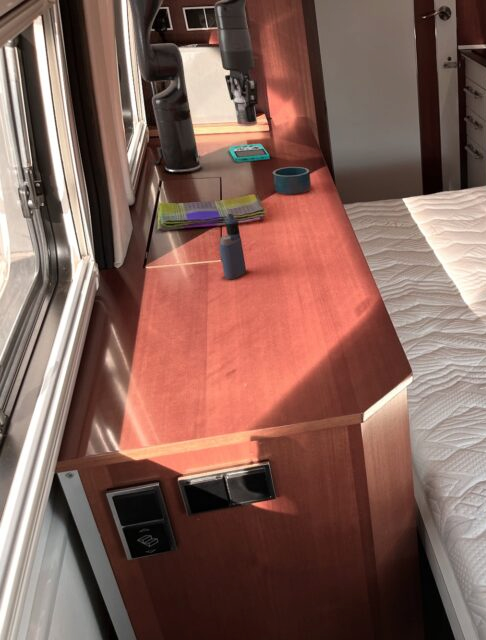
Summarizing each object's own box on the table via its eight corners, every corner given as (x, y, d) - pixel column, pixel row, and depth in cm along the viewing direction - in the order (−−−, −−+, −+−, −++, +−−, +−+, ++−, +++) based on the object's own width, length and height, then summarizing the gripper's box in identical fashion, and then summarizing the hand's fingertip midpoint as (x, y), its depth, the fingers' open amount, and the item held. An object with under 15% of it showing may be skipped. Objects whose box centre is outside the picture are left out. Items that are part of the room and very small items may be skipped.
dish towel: (158, 210, 198) (156, 199, 196) (261, 201, 205) (260, 190, 204) (158, 233, 184) (155, 221, 182) (268, 222, 191) (267, 210, 190)
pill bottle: (240, 123, 208) (234, 88, 204) (258, 122, 209) (253, 88, 205) (236, 126, 204) (230, 91, 200) (255, 126, 205) (250, 91, 201)
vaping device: (249, 271, 164) (239, 213, 158) (233, 280, 160) (223, 221, 154) (238, 269, 165) (228, 212, 159) (222, 278, 160) (211, 220, 155)
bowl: (269, 189, 214) (266, 170, 212) (301, 183, 219) (299, 165, 217) (285, 197, 208) (282, 178, 206) (317, 191, 213) (315, 172, 211)
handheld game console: (262, 147, 254) (261, 142, 254) (270, 159, 242) (270, 154, 241) (229, 150, 251) (228, 145, 250) (236, 162, 238) (235, 157, 238)
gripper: (263, 49, 195) (273, 122, 203) (238, 44, 205) (248, 114, 213) (233, 52, 191) (244, 126, 199) (209, 46, 200) (221, 118, 209)
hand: (246, 119), depth 206 cm, fingers closed on pill bottle, 4 cm apart
